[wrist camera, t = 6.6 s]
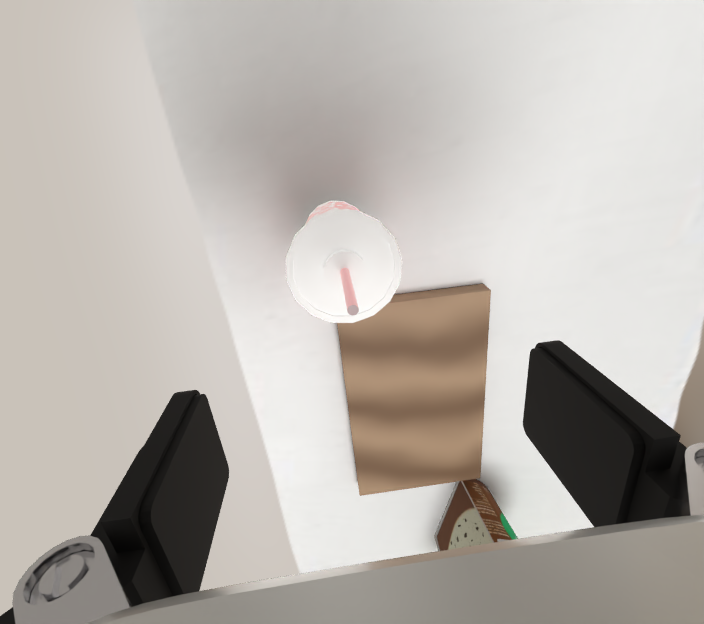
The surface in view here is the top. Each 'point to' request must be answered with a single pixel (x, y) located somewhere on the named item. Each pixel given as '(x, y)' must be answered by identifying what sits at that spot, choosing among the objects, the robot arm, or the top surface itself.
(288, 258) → the beverage cup
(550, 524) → the top surface
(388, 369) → the walnut board
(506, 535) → the food container
